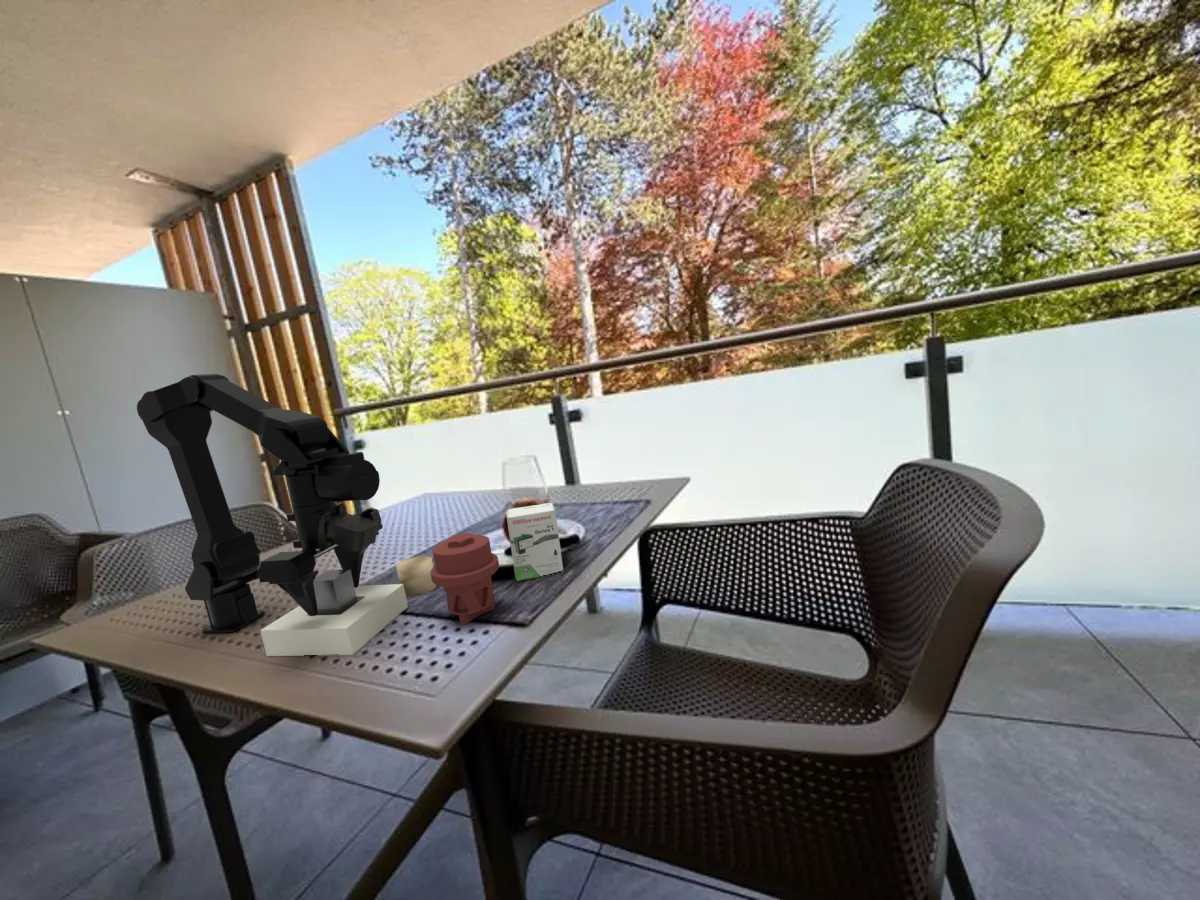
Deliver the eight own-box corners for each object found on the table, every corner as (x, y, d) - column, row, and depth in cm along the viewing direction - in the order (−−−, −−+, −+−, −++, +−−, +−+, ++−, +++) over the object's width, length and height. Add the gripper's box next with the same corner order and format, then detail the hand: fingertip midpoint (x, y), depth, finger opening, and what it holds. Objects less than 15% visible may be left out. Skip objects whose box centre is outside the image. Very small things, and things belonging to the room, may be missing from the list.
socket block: (266, 656, 73) (260, 630, 73) (333, 609, 87) (328, 587, 86) (352, 655, 70) (346, 628, 70) (407, 606, 84) (403, 583, 83)
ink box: (516, 582, 89) (505, 516, 87) (514, 571, 93) (504, 509, 92) (564, 572, 90) (555, 508, 88) (561, 562, 95) (552, 501, 93)
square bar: (321, 637, 77) (309, 581, 76) (339, 623, 81) (327, 570, 80) (345, 636, 76) (332, 580, 75) (361, 623, 80) (350, 569, 79)
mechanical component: (515, 597, 82) (490, 630, 73) (458, 599, 84) (427, 631, 75) (503, 524, 80) (476, 547, 71) (445, 528, 82) (411, 551, 73)
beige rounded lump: (394, 597, 89) (389, 570, 88) (413, 582, 95) (408, 556, 94) (425, 596, 88) (420, 568, 87) (442, 581, 93) (437, 555, 93)
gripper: (315, 518, 65) (340, 631, 67) (398, 482, 83) (415, 573, 85) (242, 523, 67) (268, 633, 69) (338, 487, 85) (357, 576, 88)
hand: (335, 600), depth 78 cm, fingers open, 9 cm apart
